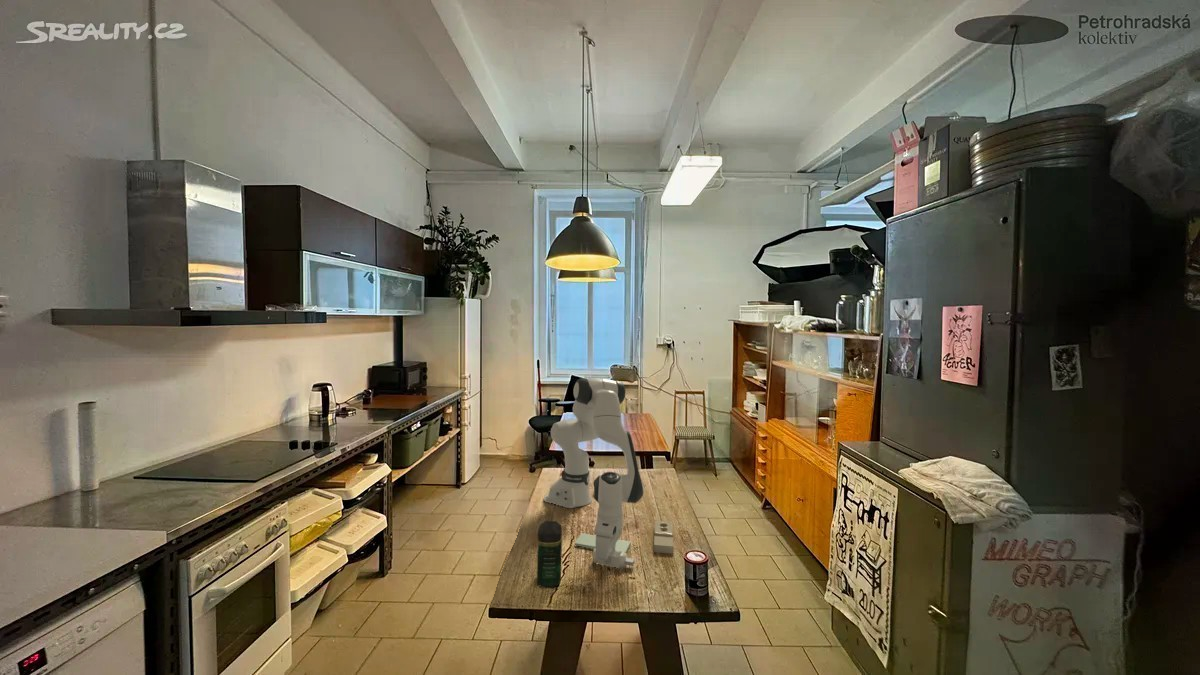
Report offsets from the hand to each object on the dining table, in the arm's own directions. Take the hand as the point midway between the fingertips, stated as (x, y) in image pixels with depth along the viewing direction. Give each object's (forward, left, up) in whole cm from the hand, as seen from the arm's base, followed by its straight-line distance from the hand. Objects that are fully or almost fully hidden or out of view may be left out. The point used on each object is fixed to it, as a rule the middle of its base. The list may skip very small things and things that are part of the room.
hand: (609, 558), depth 157 cm
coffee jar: (-16, -16, -2) cm, 23 cm away
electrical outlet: (+15, +22, -2) cm, 27 cm away
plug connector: (+1, 0, -2) cm, 2 cm away
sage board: (-6, +11, -2) cm, 13 cm away
